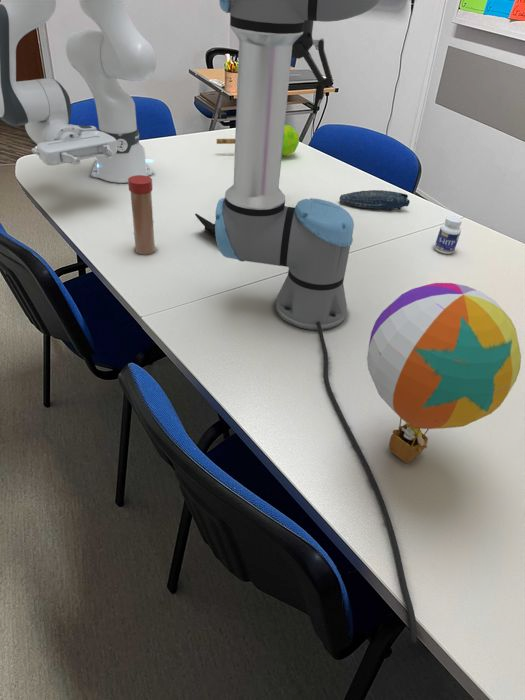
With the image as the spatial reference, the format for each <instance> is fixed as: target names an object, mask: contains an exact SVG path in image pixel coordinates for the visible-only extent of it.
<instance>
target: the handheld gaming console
mask: <svg viewBox="0 0 525 700" xmlns="http://www.w3.org/2000/svg"><path fill="white" fill-rule="evenodd" d="M194 215H195V217H196V218H197V220H199V222H200V223H201V225H202V226H203V227H204V231H206V232H207V233H209V234H211V235H212V236H214V237H216V235H215V223H213V222H211V221H209V220H208V219H206V218H205V217H203V216H201V215H200V214H197V213H195V214H194Z"/></svg>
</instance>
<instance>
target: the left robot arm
mask: <svg viewBox="0 0 525 700" xmlns="http://www.w3.org/2000/svg"><path fill="white" fill-rule="evenodd" d="M78 2H79V7H80V9H81V10H82V12H83V13H84V14H85V15H86V16H87V17H88V18H89V19H90V20H92V21H93V22H94V23H95V24H96V25H97V27H98V28H99V29H100V30H92V29H84V30H83V29H82V30H76V31H73V32H71V33H70V34H69V36H68V37H67V40H66V44H65V52H66V53H65V54H66V57H67V59H68V62H69V64H70V65H71V66H72V68H73V69H74V70H76V72H78V73H79V74H80V76H81V77H82V78H83V80H84V81H85V83H86V84H87V86H88V89H89V90H90V92H91V95H92V97H93V101H94V104H95V109H96V115H97V123H98V128H97V127H96V126H94V125H76V124H71V123H70V122H71V118H72V117H71V116H72V104H71V103H72V102H71V98H70V96H69V93H68V91H67V90H66V89H65V88H64V86H63V85H62V84H61V82H59V81H58V80H56V79H55V78H53V77H50V78H49V77H47V78H36V79H30V80H20V81H19V80H18V81H17V46H18V44H19V42H20V41H21V40H22V38H23V37H24V36H26V35H27V34H29V33H30V32H31V31H34V30H35V29H37V28H40V27H41V26H44V25H45V23H47V22H48V21H49V20H50V19H51V17H52V16H53V15H54V13H55V10H56V7H57V0H0V120H1V121H3V122H4V123H6V124H7V125H9V126H12V127H15V128H16V127H20V126H24V128H25V131H26V133H27V135H28V137H29V138H30V139H31V141H33V142H34V143H35V144H36V146H35V145H34V147H32V148H31V152H32V153H33V154H34V155H36V156H38V157H39V160H41V162H43V163H44V164H45V165H47V166H53V167H54V166H57V165H61V164H70V165H71V164H72V165H73V166H78V165H81V161H83V160H87V159H88V160H89V159H94V158H95V161H94V164H93V167H92V170H91V177H92V178H95V179H101V180H104V181H106V182H110V183H117V184H118V183H119V184H123V183H124V184H125V183H126V184H127V183H128V179H129V178H130V177H132V176H136V175H143V176H148V177H150V176H151V175H153V174H154V173H153V169H151V168H150V167H149V166H148V164H147V163H154V160H153V159H147V158H146V157H147V156H146V149H145V147H144V146H143V145H142V144H141V143H140V133H139V128H138V125H137V124H138V123H137V112H136V103H135V101H134V98H133V97H132V96H131V95H130V94H129V93H128V92H126V91H125V90H124V89H123V87H121V85H120V83H119V82H118V80H124V81H130V82H138V81H147V80H149V79H150V78H151V77H152V76H153V75H154V72H155V70H156V66H157V56H156V52H155V49H154V47H153V46H152V44H151V43H150V42H149V41H148V40H147V39H145V37H144V36H143V35H142V34H141V33H140V32H139V30H138V29H137V28H136V26H135V24H134V23H133V21H132V19H131V17H130V15H129V12H128V10H127V7H126V4H125V0H78Z"/></svg>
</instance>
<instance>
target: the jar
mask: <svg viewBox="0 0 525 700" xmlns="http://www.w3.org/2000/svg"><path fill="white" fill-rule="evenodd" d="M129 193H130V201H131V213H132V215H131V216H132V225H133V237H134V248H135V252H136V253H137V254H138V255H142V256H143V255H145V256H148V255H151V254H154V252H155V251H156V245H155V230H154V229H155V228H154V227H155V226H154V213H153V210H154V209H153V196H152V191H151V192H149V193H145V194H136V193H132V192H131V191H129Z"/></svg>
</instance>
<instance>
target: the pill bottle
mask: <svg viewBox="0 0 525 700" xmlns="http://www.w3.org/2000/svg"><path fill="white" fill-rule="evenodd" d="M462 222H463V219H461V218H460V217H458V216H455V215H448V216H446V218H445V220H444V223H443V224H442V225H440V228H439V231H438V234H437V237H436V240H435V243H434V250H435V251H437V252H439V253H441V254H447V255H449V254H453V253H454V252H455V250H456V247H457V244H458V242H459V239H460V236H461V233H462V229H461V225H462Z"/></svg>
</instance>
